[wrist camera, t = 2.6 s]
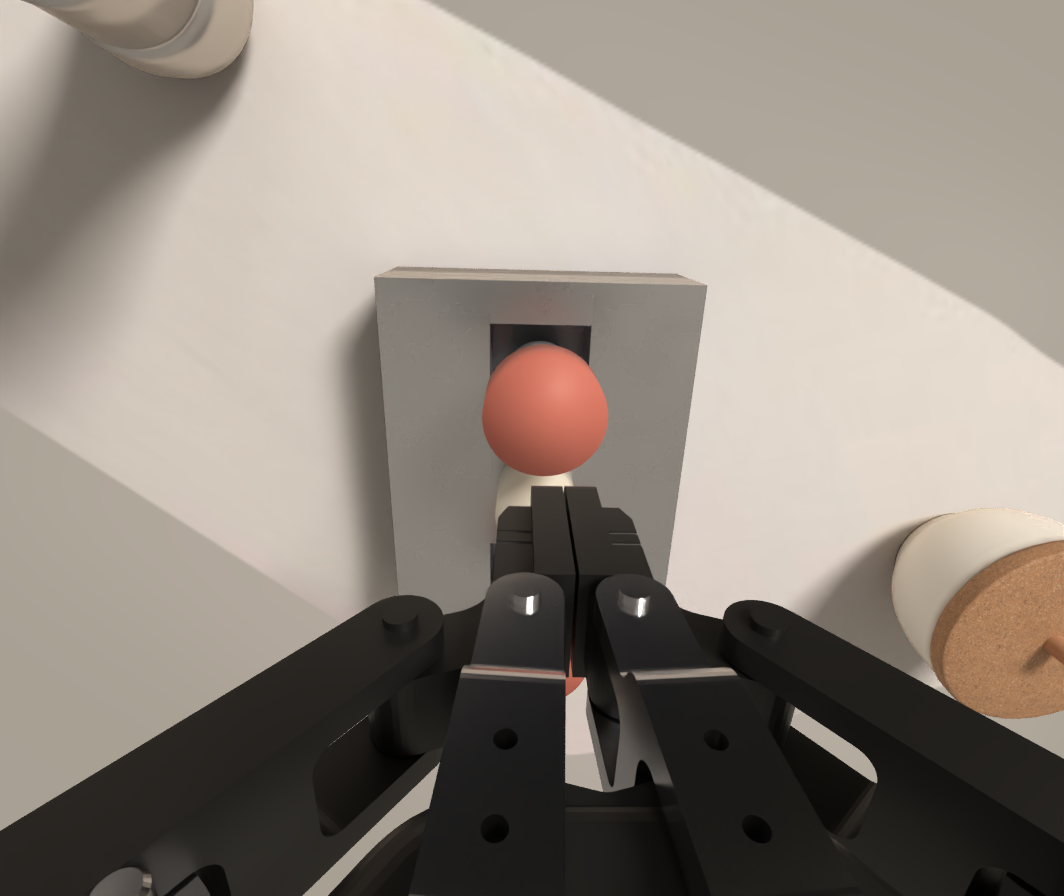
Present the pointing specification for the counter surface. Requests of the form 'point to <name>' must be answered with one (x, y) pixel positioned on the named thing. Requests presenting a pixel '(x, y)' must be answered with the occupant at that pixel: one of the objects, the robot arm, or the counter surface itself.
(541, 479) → the dial
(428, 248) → the counter surface
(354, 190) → the counter surface
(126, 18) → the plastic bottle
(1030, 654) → the lidded jar
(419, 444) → the panel
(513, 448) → the knob inner
